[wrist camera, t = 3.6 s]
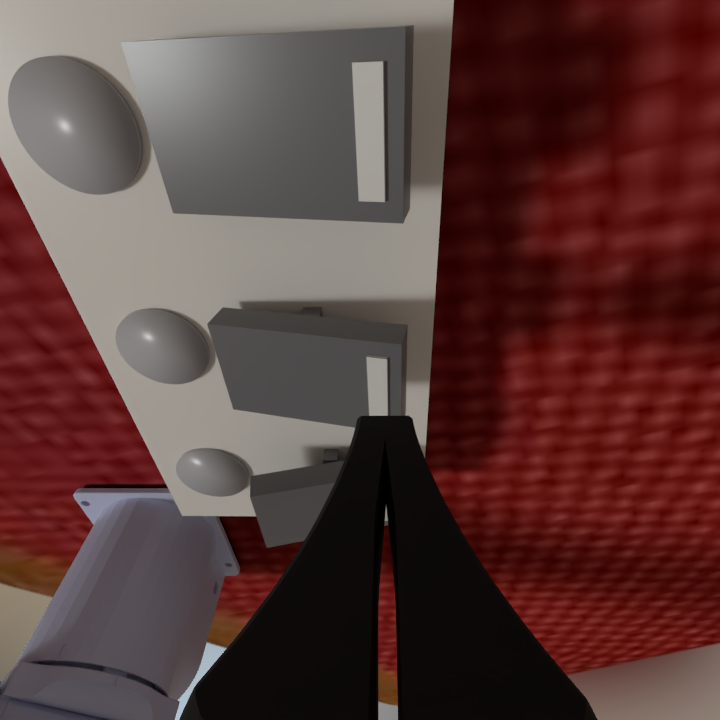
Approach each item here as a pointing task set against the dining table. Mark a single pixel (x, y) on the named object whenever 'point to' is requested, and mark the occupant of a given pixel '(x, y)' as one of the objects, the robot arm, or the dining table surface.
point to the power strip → (208, 229)
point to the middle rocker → (311, 365)
